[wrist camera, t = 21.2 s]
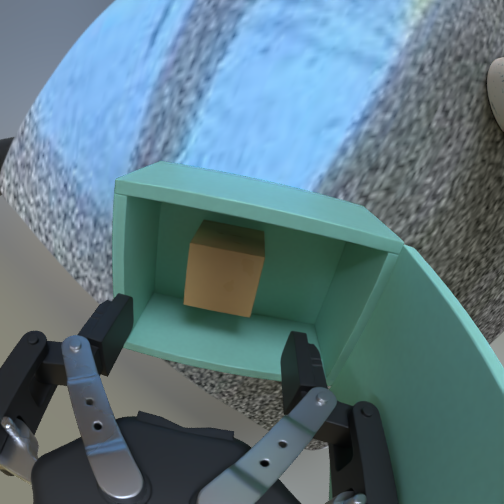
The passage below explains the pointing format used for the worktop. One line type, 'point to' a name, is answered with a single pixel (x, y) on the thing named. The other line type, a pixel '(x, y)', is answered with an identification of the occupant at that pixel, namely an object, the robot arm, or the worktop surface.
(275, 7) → the worktop surface
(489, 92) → the teacup with lid
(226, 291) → the block
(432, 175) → the worktop surface
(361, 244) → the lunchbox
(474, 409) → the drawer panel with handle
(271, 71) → the worktop surface
